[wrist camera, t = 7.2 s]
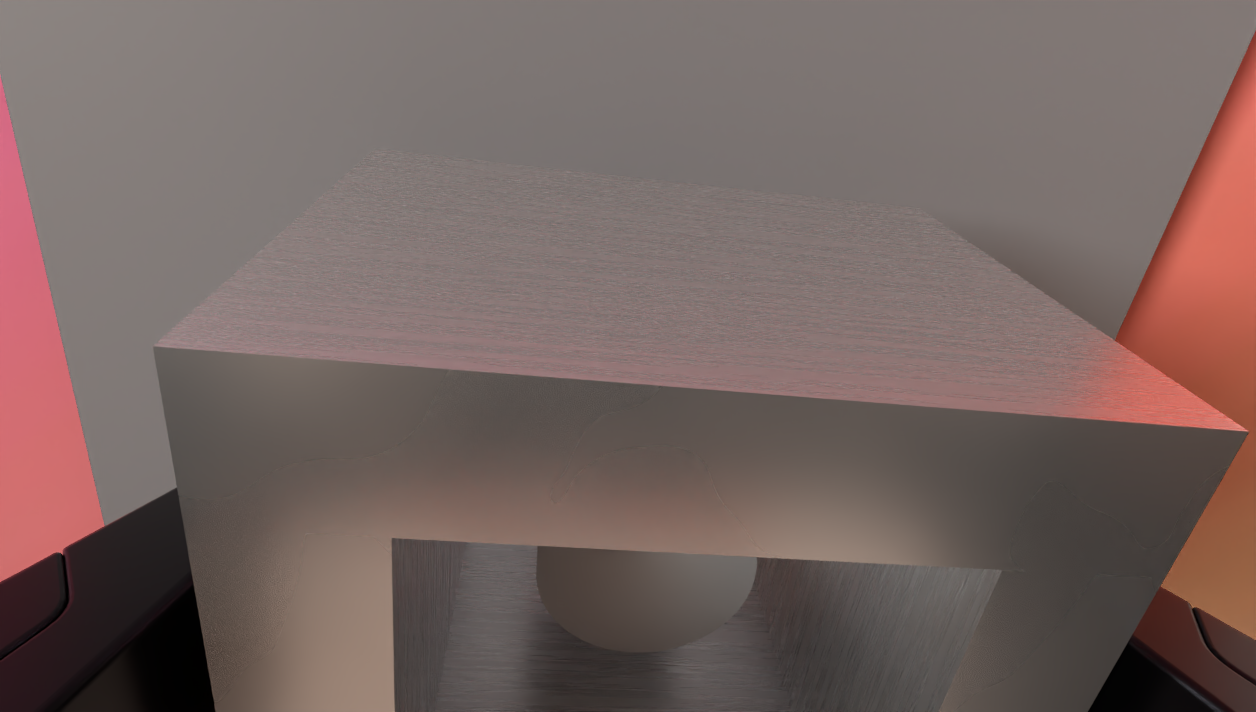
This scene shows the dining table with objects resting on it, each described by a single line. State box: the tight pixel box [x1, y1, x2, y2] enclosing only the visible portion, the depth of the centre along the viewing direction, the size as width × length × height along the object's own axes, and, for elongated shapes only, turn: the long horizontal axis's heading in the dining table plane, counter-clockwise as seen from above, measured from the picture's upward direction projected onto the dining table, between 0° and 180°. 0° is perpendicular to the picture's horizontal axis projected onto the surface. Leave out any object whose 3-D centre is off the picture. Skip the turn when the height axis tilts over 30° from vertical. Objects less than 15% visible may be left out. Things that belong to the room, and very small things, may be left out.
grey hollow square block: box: [153, 149, 1249, 712], centre depth 8 cm, size 6×6×5 cm
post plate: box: [0, 0, 1256, 653], centre depth 11 cm, size 18×18×7 cm
